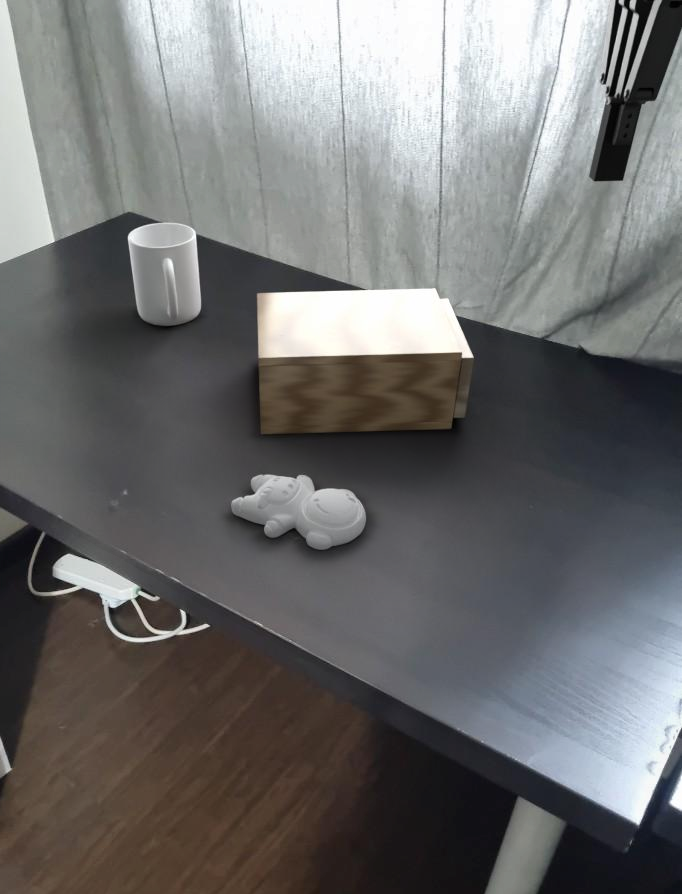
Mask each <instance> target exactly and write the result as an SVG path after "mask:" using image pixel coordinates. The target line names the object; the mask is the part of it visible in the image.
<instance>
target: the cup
mask: <svg viewBox="0 0 682 894" xmlns="http://www.w3.org/2000/svg"><path fill="white" fill-rule="evenodd" d="M127 243H128V250H129V257H130V266H131V272H132V281H133V287H134V296H135V303H136V310H137V313H138V316H139V317H140V319H142V320H143V321H144V322H146V323H148V324H151V325H155V326H161V327H171V326H179V325H182V324H183V325H184V324H186V323H190V322H191V321H193V320H194V319H196V318H197V317H198V316H199V314H200V312H201V309H202V296H201V284H200V283H201V282H200V272H199V271H200V270H199V269H200V268H199V258H198V257H199V256H198V245H197V243H198V242H197V232H196V231H195V229H193V228H192V227H191V226H189V225H185V224H183V223H176V222H156V223H149V224H145V225H142V226H139V227H137V228H134V229H132V230H131V231H130V232H129V233H128V235H127Z"/></svg>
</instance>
